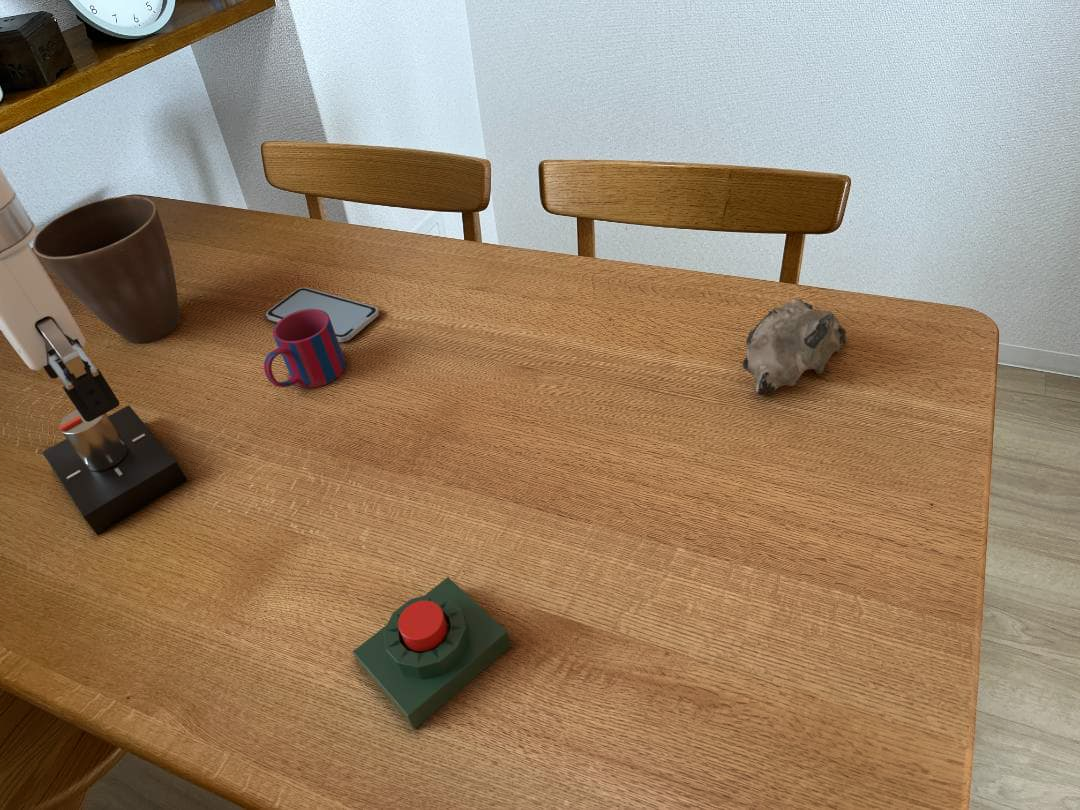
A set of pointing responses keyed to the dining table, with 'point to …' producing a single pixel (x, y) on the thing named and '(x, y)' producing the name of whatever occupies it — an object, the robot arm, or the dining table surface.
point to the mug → (306, 349)
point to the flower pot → (115, 265)
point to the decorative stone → (791, 345)
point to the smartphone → (327, 311)
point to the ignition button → (422, 626)
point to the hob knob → (94, 440)
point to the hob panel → (117, 474)
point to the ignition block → (433, 655)
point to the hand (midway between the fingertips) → (84, 390)
